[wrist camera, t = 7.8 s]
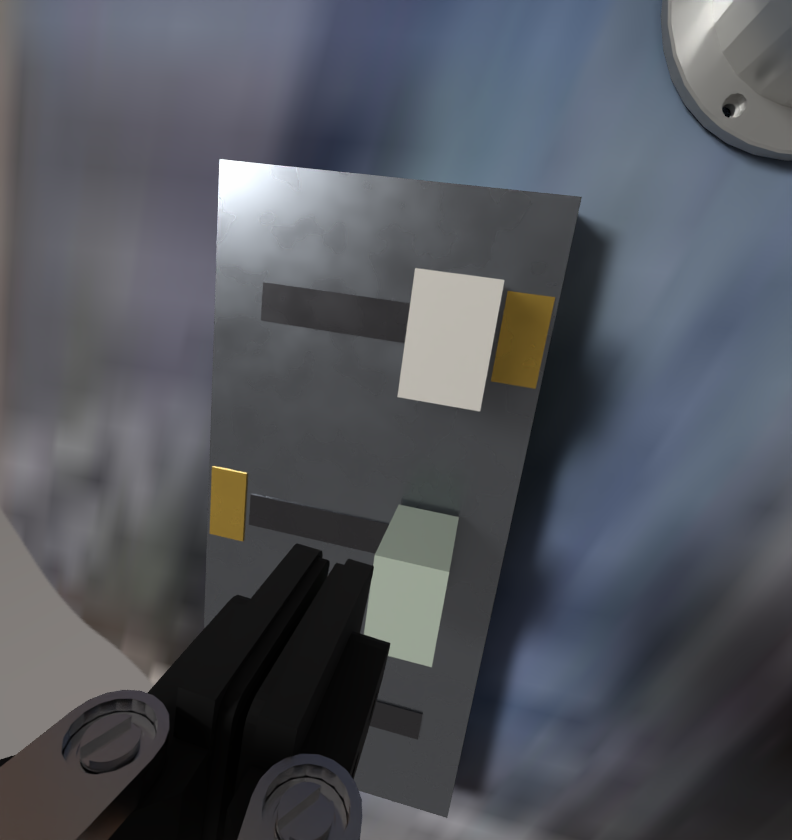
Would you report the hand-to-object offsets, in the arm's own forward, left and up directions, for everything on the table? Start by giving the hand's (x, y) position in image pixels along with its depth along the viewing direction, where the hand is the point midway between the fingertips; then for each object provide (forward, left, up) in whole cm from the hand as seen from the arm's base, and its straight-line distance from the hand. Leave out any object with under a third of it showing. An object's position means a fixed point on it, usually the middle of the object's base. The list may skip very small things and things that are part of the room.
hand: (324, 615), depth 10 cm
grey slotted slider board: (+3, +6, -17) cm, 18 cm away
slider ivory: (-1, -5, -14) cm, 15 cm away
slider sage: (-1, +6, -14) cm, 15 cm away
